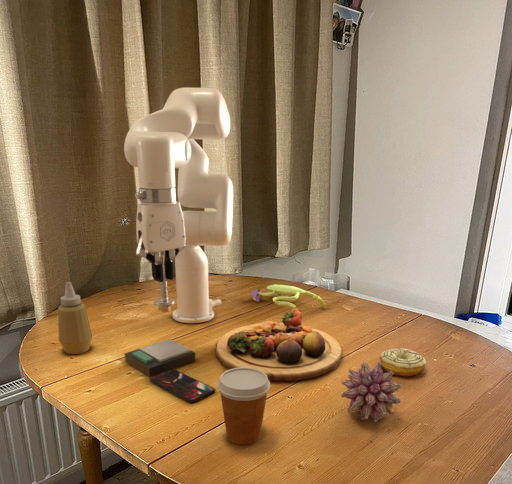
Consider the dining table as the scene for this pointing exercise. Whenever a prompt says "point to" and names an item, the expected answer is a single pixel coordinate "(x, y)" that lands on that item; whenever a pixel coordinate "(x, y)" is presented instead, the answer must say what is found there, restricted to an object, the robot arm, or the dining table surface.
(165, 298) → the screw
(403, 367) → the decorated donut
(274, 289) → the figurine
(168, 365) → the scale
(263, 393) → the disposable coffee cup
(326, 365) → the wooden plate
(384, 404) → the flower
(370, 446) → the dining table surface
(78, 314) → the squeeze bottle
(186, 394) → the smartphone
